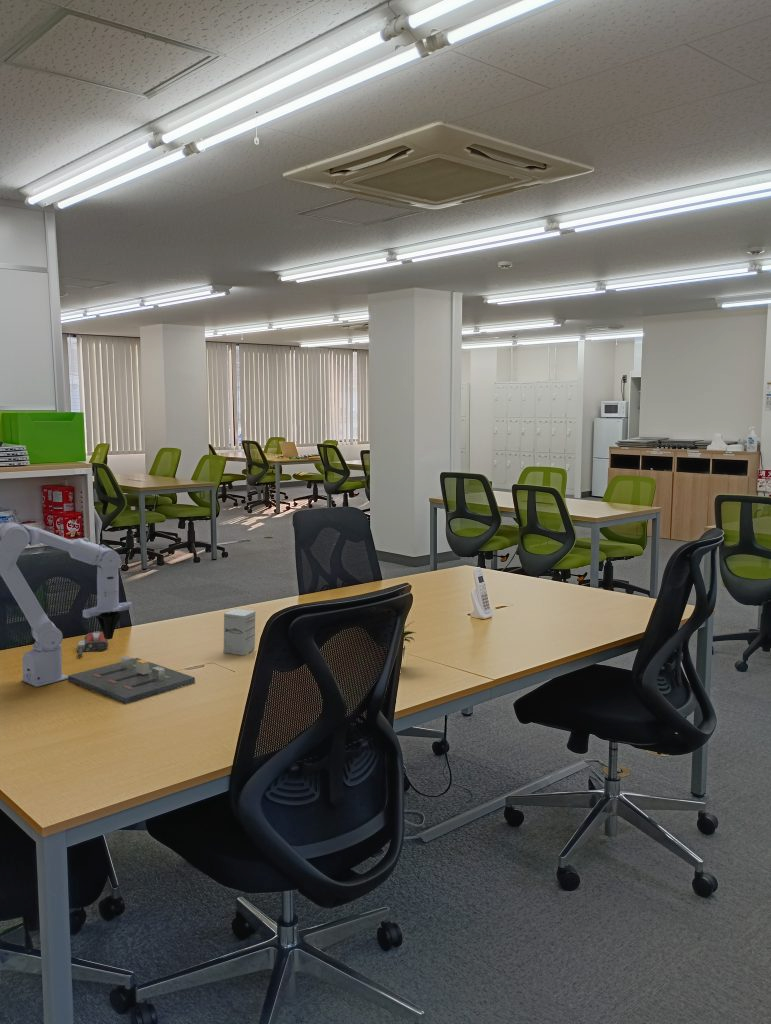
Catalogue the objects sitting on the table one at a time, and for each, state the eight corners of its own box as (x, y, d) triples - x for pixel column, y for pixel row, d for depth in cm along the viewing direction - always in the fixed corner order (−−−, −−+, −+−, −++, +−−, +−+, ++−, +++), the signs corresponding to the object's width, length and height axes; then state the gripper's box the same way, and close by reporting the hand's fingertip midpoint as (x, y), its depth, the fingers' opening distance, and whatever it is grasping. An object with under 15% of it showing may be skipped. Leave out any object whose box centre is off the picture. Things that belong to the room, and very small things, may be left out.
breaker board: (125, 703, 209) (125, 686, 209) (68, 680, 225) (67, 664, 224) (194, 682, 226) (194, 666, 226) (137, 662, 242) (136, 647, 242)
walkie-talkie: (78, 641, 263) (76, 660, 244) (78, 628, 262) (76, 645, 243) (108, 640, 266) (107, 658, 247) (107, 626, 265) (107, 644, 246)
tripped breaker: (142, 674, 227) (142, 663, 226) (136, 672, 228) (136, 660, 228) (149, 673, 228) (149, 661, 228) (142, 670, 230) (142, 659, 230)
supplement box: (222, 653, 254) (223, 613, 252) (234, 647, 261) (234, 607, 259) (244, 656, 252) (244, 615, 250) (255, 649, 259) (256, 610, 257)
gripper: (92, 597, 223) (93, 646, 225) (138, 589, 235) (138, 636, 236) (78, 593, 228) (78, 641, 230) (124, 585, 239) (124, 631, 241)
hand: (108, 638), depth 233 cm, fingers closed
